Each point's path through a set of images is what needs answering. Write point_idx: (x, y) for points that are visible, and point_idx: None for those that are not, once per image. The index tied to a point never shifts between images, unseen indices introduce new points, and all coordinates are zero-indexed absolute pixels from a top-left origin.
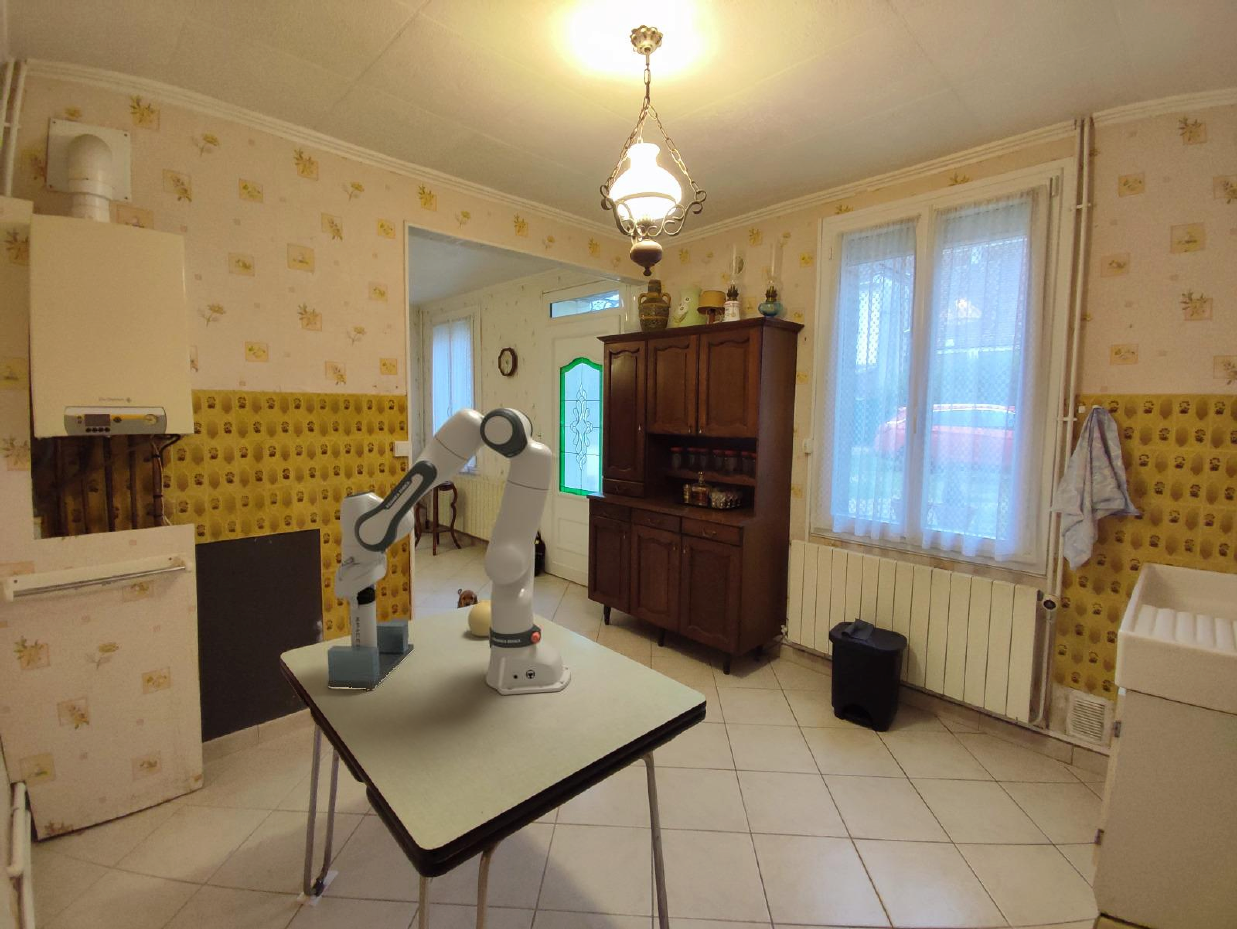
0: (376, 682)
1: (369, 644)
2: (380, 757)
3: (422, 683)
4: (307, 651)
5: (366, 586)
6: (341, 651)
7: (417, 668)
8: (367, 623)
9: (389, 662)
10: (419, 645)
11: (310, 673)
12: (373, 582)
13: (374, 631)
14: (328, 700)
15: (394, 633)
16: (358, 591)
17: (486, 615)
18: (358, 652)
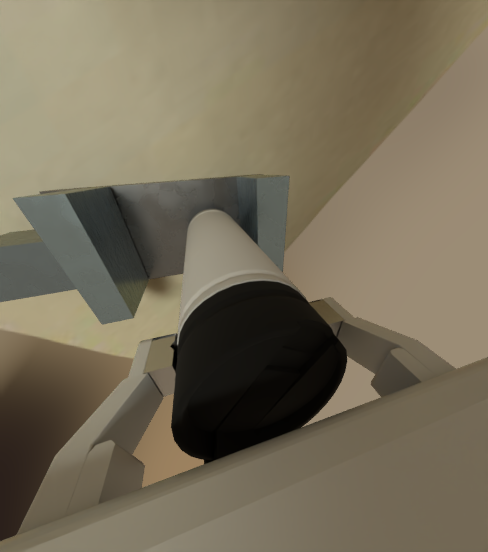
0: (249, 175)
1: (235, 223)
2: (473, 6)
3: (213, 48)
4: None
5: (349, 436)
6: (282, 259)
7: (140, 116)
8: (257, 246)
9: (169, 195)
10: (8, 192)
11: None
12: (164, 507)
13: (222, 225)
14: (289, 231)
15: (96, 222)
16: (477, 379)
17: None
18: (285, 219)
